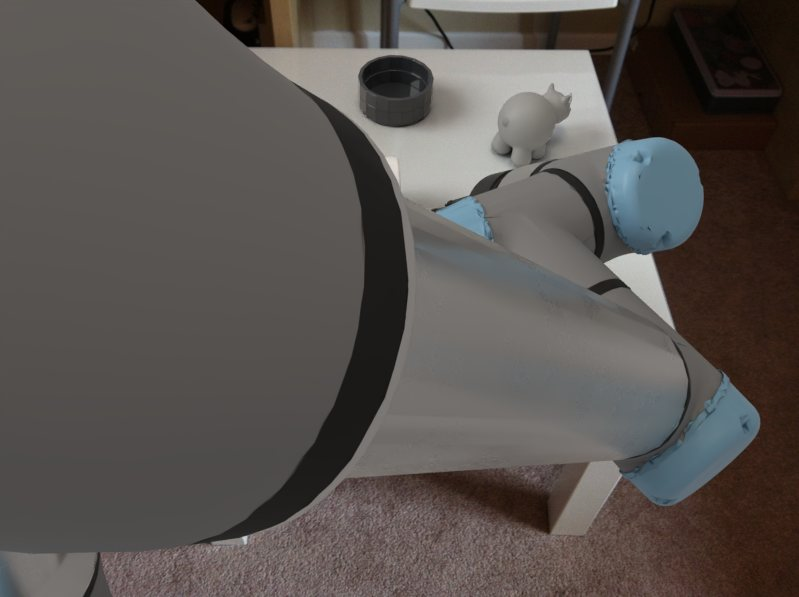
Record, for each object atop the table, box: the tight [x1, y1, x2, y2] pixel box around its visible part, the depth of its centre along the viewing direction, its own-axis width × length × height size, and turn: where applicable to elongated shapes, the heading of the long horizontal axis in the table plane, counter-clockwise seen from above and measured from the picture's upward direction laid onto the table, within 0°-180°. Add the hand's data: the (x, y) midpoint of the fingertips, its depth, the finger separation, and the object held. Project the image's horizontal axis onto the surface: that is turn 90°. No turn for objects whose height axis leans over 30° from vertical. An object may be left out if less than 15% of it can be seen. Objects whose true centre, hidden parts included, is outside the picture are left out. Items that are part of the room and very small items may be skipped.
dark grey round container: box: [357, 54, 435, 128], centre depth 100 cm, size 10×10×4 cm
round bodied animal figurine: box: [490, 82, 573, 168], centre depth 95 cm, size 7×12×8 cm, turn 127°
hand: (395, 232), depth 82 cm, fingers closed
